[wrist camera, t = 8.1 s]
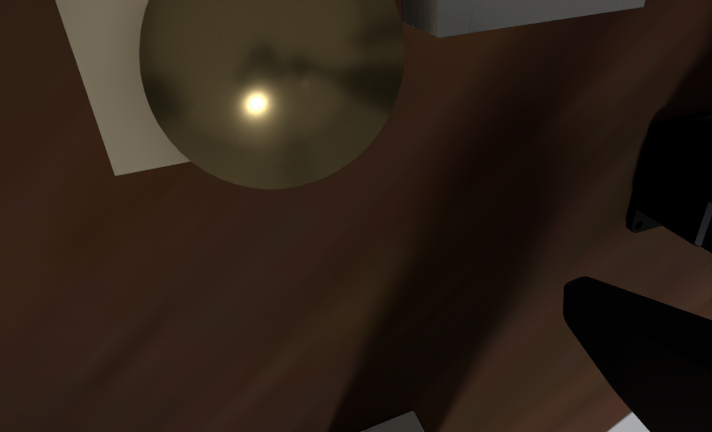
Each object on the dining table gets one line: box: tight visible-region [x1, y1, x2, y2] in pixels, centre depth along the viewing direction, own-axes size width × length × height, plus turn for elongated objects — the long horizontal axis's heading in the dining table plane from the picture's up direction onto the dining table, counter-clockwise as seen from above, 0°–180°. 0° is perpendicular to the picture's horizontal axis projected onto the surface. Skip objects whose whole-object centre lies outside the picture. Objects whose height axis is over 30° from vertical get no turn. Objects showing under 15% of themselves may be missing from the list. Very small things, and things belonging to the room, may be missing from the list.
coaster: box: [56, 0, 190, 176], centre depth 17 cm, size 10×10×1 cm
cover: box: [139, 0, 404, 189], centre depth 14 cm, size 5×5×8 cm
